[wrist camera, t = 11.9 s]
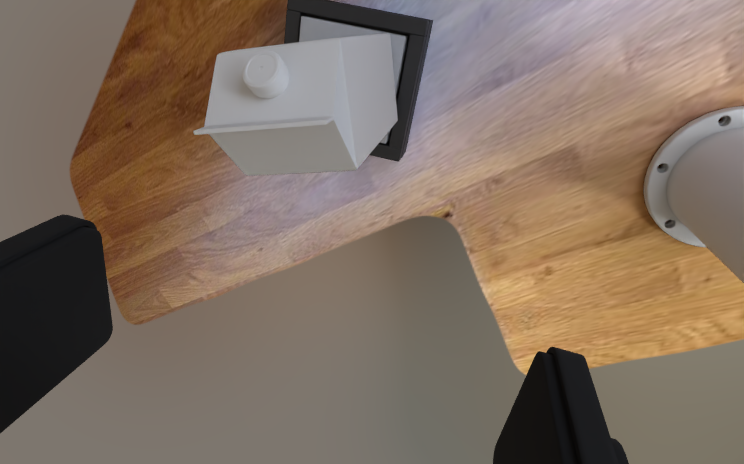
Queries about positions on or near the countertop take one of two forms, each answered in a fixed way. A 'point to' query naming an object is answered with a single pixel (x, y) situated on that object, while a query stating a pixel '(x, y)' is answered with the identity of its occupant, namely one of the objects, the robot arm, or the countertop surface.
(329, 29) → the scale pan
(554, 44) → the countertop surface
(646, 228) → the countertop surface
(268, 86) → the milk carton
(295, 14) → the scale
